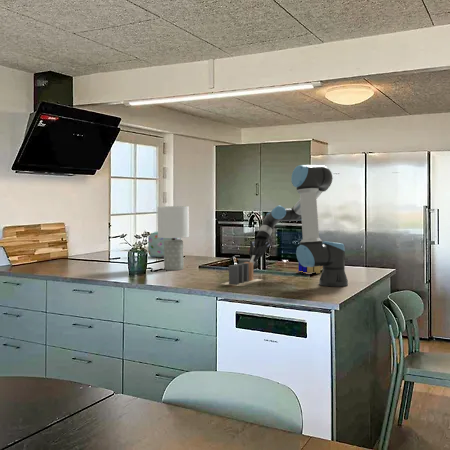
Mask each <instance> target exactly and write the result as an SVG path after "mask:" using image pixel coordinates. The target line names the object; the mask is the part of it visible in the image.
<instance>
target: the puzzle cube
mask: <svg viewBox="0 0 450 450" xmlns="http://www.w3.org/2000/svg"><path fill="white" fill-rule="evenodd" d="M299 271H303V272H316V274H315V275H318V274H320V275H321V266H316V267H304V266H302V265H301V264H300V263H299V262H298V272H299Z"/></svg>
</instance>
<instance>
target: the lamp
mask: <svg viewBox="0 0 450 450" xmlns="http://www.w3.org/2000/svg"><path fill="white" fill-rule="evenodd" d="M156 208H157V210H156V212H157V213H156V214H157V232H158V237H159V238H172V239H169V240H165V241H164V258H163V263H164V265H163V266H164V267H163V268H164V270H165V271H182V270H183V269H184V240H183V239H184V238H189V237H190V213H189V212H190V206H189V205H187V206H186V205H185V206H184V205H183V206H182V205H177V206H175V205H173V206H172V205H171V206H170V205H167V206H165V205H163V206H157V207H156ZM175 238H181V240H180V239H175Z"/></svg>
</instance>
